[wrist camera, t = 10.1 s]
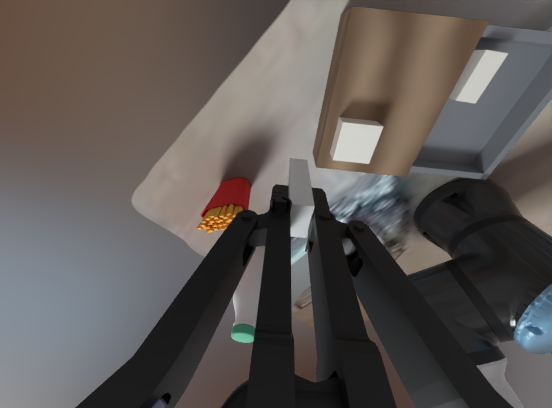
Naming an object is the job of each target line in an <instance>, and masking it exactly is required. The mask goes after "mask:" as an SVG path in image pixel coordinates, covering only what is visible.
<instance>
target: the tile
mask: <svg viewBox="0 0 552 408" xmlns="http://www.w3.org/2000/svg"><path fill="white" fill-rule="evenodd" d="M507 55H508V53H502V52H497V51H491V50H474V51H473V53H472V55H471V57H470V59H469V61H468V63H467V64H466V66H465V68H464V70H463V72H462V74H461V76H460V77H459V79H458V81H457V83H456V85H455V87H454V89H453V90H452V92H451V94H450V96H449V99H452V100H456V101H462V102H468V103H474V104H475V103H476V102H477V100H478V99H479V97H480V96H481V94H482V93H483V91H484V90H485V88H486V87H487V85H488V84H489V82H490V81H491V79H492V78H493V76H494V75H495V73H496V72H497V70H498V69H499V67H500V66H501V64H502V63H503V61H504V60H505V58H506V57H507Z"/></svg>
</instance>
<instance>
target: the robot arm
mask: <svg viewBox="0 0 552 408" xmlns="http://www.w3.org/2000/svg"><path fill="white" fill-rule="evenodd" d="M414 223H415V226H416V228H417V229H418V230H419V232H420V233H421V234H422V235H423V236H424V237H425V238H426V239H428V240H429V241H431V242H432V243H434V244H435V245H437V246H438V247H440V248H441V249H443V250H444V251H446V252H447V253H448V254H449V255H450V256H451V257H452V260H449V261H447V262H444V263H441V264H438V265H435V266H433V267H430V268H427V269H424V270H421V271H419V272H416V273H413V274H410V275H406V274H405V273H404V272H403V270H402V269H401V268H400V266H399V265H398V264H397V263H396V261H395V260H394V259H393V257H392V256H391V255H390V254H389V252H388V251H387V250H386V248H385V247H384V246H383V244H382V243H381V242H380V241H379V239H378V238H377V237H376V235H375V234H374V233H373V232H372V230H371V229H370V228H369V226H367V225H366V224H365V223H363V222H361V221H358V220H352V221H350V222H349V223H348V224H345V223H342V222H339V221H337V220H336V218H335V216H334V215H333V214H332V213H331V212H330V210H329V206H328V202H327V198H326V194H325V192H324V191H323V190H322V189H319V188H312V187H311V181H310V175H309V169H308V163H307V160H302V159H293V158H290V160H289V167H288V174H287V181H286V185H275V186H274V187H273V188H272V197H271V200H270V210H269V211H268V212H267V213H264V214H261V215H257V214H256V213H255V212H254V211H251V210H242V211H240V212H238V213H237V214H236V216H235V217H234V218H233V220H232V221H231V223H230V224H229V225H228V227H227V228H226V229H225V231H224V232H223V234H222V235H221V236H220V238H219V239H218V240H217V242H216V243H215V245H214V246H213V247H212V249H211V250H210V251H209V253H208V254H207V256H206V257H205V258H204V260H203V261H202V263H201V264H200V265H199V267H198V268H197V269H196V271H195V272H194V274H193V275H192V276H191V278H190V279H189V280H188V282H187V283H186V284H185V286H184V287H183V288H182V290H181V291H180V293H179V294H178V295H177V297H176V298H175V299H174V301H173V302H172V304H171V305H170V306H169V308H168V309H167V310H166V312H165V313H164V315H163V316H162V317H161V319H160V320H159V322H158V323H157V324H156V326H155V327H154V328H153V330H152V331H151V333H150V334H149V335H148V337H147V338H146V339H145V341H144V342H143V344H142V345H141V346H140V348H139V349H138V350H137V352H136V353H135V354H134V356H133V357H132V358H131V359H130V360H128V361H127V362H126V363H125V364H124V365H123V366H122V367H121V368H120V369H118V370H117V371H116V372H115V373H114V374H113V375H112V376H110V377H109V378H108V379H107V380H106V381H105V382H104V383H103V384H102V385H100V386H99V387H98V388H97V389H96V390H95V391H94V392H92V393H91V394H90V395H89V396H88V397H87V398H86V399H85V400H83V401H82V402H81V403H80V404H79V405H78V406H77V407H76V408H174V407H175V405H176V404H177V402H178V401H179V399H180V398H181V396H182V395H183V393H184V391H185V390H186V388H187V386H188V384H189V382H190V380H191V379H192V377H193V375H194V373H195V371H196V369H197V367H198V365H199V363H200V361H201V359H202V357H203V355H204V353H205V351H206V349H207V347H208V345H209V343H210V341H211V339H212V337H213V335H214V333H215V330H216V328H217V327H218V324H219V322H220V320H221V318H222V316H223V314H224V312H225V310H226V308H227V306H228V304H229V302H230V300H231V298H232V296H233V294H234V292H235V290H236V288H237V286H238V284H239V282H240V280H241V278H242V276H243V274H244V272H245V270H246V268H247V266H248V264H249V262H250V260H251V258H252V256H253V254H254V252H255V250H256V247H258V246H264V245H265V253H264V261H263V269H262V278H261V286H260V294H259V303H258V311H257V319H256V327H255V333H254V341H253V350H252V357H251V365H250V374H249V379H248V380H247V381H245V382H244V383H242V384H241V385H240V386H239V387H237V388H236V389H235V390H234V391H233V393H231V395H230V396H229V397H228V398H227V400H226V401H225V402H224V404H223V405H222V406H221V408H397V407H396V404H395V401H394V397H393V394H392V391H391V387H390V384H389V381H388V378H387V374H386V371H385V367H384V364H383V361H382V357H381V354H380V352H379V349H378V347H377V346H376V344H375V343H374V342H372V341H371V340H370V339H369V338H368V335H367V332H366V328H365V325H364V321H363V317H362V314H361V310H360V306H359V303H358V299H357V296H358V298H359V300H360V302H361V303H362V305H363V307H364V309H365V311H366V313H367V315H368V317H369V319H370V321H371V323H372V325H373V327H374V329H375V331H376V333H377V334H378V336H379V338H380V340H381V342H382V344H383V346H384V348H385V350H386V352H387V354H388V356H389V358H390V360H391V362H392V364H393V365H394V367H395V369H396V371H397V373H398V375H399V377H400V379H401V381H402V383H403V385H404V387H405V389H406V391H407V393H408V394H409V396H410V398H411V400H412V402H413V403H414V405H415V407H416V408H524V407H523V405H522V404H521V402H520V401H519V399H518V397H517V396H516V395H515V393H514V391H513V390H512V389H511V387H510V385H509V384H508V383H507V381H506V379H505V375H504V373H505V369H506V364H507V359H506V357H505V356H504V354H503V353H502V352H501V350H500V349H499V347H498V346H497V343H500V342H505V341H511V340H515V341H516V342H517V344H518V345H519V346H521V347H523V348H524V349H525V350H527V351H529V352H532V353H537V354H545V353H549V352H550V353H552V237H551V236H550V235H548V234H547V233H545V232H544V231H543V230H541V229H540V228H538V227H537V226H535V225H534V224H532V223H531V222H529V221H528V220H527V219H525V218H524V217H523V216H522V215H521V213H520V212H519V210H518V209H517V207H516V205H515V204H514V202H513V201H512V199H511V198H510V196H509V195H508V193H507V192H506V191H505V190H504V189H503V188H502V187H500V186H498V185H497V184H495V183H494V182H492V181H490V180H487V179H486V180H483V179H473V178H466V179H461V180H457V181H454V182H451V183H448V184H446V185H444V186H442V187H440V188H438V189H436V190H435V191H433V192H432V193H431V194H429V195H428V196H427V197H426V198H425V199H424V200H423V201H422V202H421V203H420V205H419V206H418V208H417V210H416V212H415V215H414ZM307 234H308V241H307V245H306V249H305V252H307V249H308V259H309V272H310V283H311V294H312V305H313V317H314V328H315V339H316V350H317V366H316V383H314V382H311V381H309V380H306V379H304V378H302V377H299V376H297V375H295V369H294V338H293V334H292V328H291V327H292V325H291V236H292V237H302V238H307ZM356 294H357V295H356Z"/></svg>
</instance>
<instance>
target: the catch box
mask: <svg viewBox="0 0 552 408" xmlns="http://www.w3.org/2000/svg"><path fill="white" fill-rule="evenodd" d="M475 50H491V51H497V52H502V53H508V55H507V57H506V58H505V60H504V61H503V63H502V64H501V66H500V67H499V69H498V70H497V72H496V73H495V75H494V76H493V78H492V79H491V81H490V82H489V84H488V85H487V87H486V88H485V90H484V91H483V93H482V94H481V96H480V97H479V99H478V100H477V102H476V103H475V104H474V103H468V102H462V101H456V100H452V99H449V98H448V100H447V102H446V104H445V105H444V107H443V109H442V111H441V113H440V115H439V117H438V118H437V120H436V122H435V124H434V126H433V128H432V130H431V131H430V133H429V135H428V137H427V139H426V141H425V143H424V144H423V146H422V148H421V150H420V152H419V154H418V156H417V158H416V159H415V161H414V163H413V165H412V167H411V169H410V171H409V172H417V173H426V174H435V175H445V176H454V177H464V178H473V179H483V180H486V179H487V178H488V176H489V175H490V174H491V173H492V171H493V170H494V169H495V168H496V167H497V165H498V164H499V163H500V162H501V160H502V159H503V158H504V157H505V155H506V154H507V153H508V152H509V151H510V149H511V148H512V147H513V146H514V144H515V143H516V142H517V141H518V139H519V138H520V137H521V136H522V135H523V133H524V132H525V131H526V130H527V128H528V127H529V126H530V125H531V124H532V122H533V121H534V120H535V119H536V117H537V116H538V115H539V114H540V112H541V111H542V110H543V109H544V108H545V106H546V105H547V104H548V103H549V101H550V100H551V99H552V32H548V31H539V30H530V29H521V28H512V27H502V26H493V25H487V27H486V29H485V31H484V33H483V35H482V36H481V38H480V40H479V42H478V44H477V46H476V48H475Z"/></svg>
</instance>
